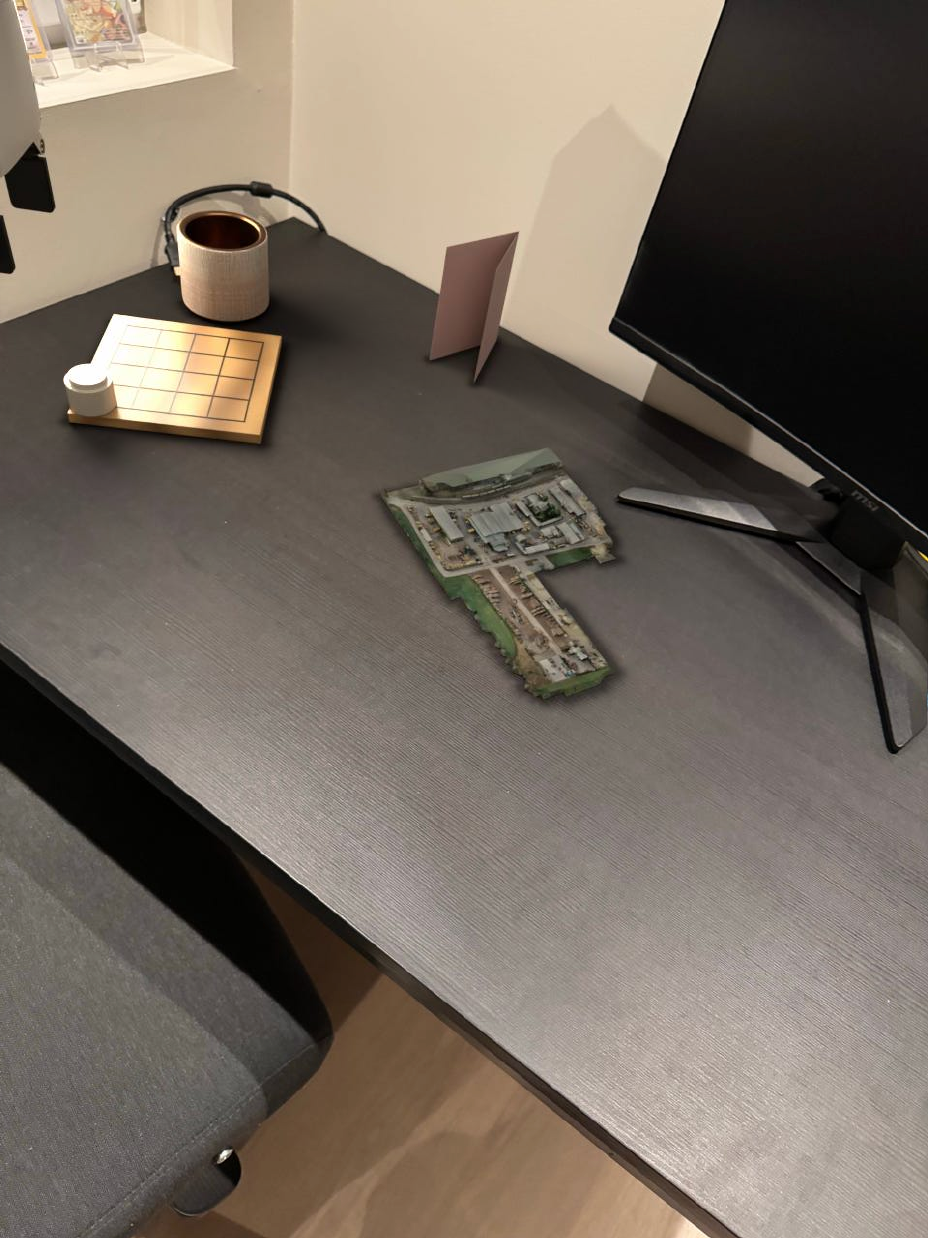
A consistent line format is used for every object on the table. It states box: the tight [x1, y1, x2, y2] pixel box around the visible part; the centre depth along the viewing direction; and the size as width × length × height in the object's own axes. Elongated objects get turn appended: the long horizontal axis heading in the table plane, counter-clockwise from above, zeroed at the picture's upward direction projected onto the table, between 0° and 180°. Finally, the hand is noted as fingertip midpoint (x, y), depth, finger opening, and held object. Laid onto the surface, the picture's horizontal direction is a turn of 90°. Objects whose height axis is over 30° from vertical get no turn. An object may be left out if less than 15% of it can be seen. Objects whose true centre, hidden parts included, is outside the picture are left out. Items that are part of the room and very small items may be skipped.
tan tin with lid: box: [63, 363, 117, 417], centre depth 89 cm, size 5×5×4 cm
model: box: [381, 447, 617, 701], centre depth 86 cm, size 21×30×2 cm
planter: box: [176, 209, 270, 324], centre depth 106 cm, size 11×11×10 cm
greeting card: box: [429, 230, 520, 383], centre depth 105 cm, size 11×7×15 cm, turn 129°
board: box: [67, 313, 283, 445], centre depth 97 cm, size 20×20×1 cm
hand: (14, 237), depth 63 cm, fingers open, 9 cm apart
